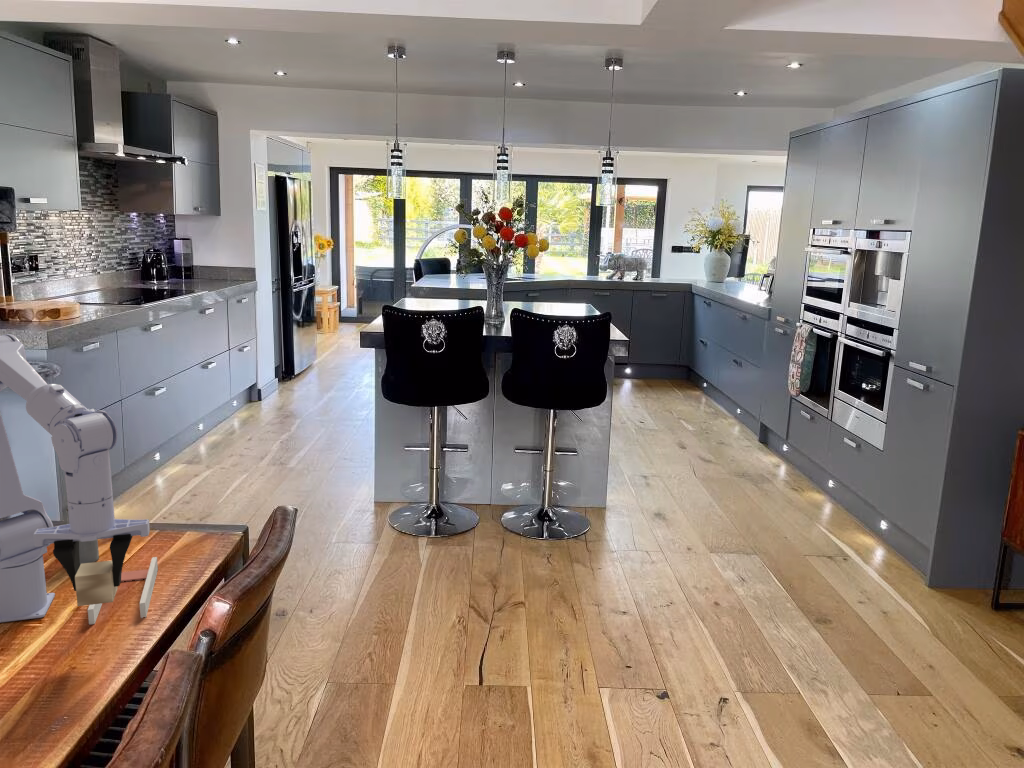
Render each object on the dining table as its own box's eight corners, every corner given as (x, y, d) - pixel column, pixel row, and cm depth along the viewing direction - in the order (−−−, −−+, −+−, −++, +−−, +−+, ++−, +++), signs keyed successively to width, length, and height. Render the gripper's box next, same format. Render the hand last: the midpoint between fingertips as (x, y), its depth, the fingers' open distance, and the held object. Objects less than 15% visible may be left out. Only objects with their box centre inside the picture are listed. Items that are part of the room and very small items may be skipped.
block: (77, 606, 109) (74, 576, 108) (83, 592, 113) (81, 563, 112) (112, 602, 110) (110, 573, 110) (117, 588, 115) (115, 560, 114)
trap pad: (111, 583, 133) (111, 581, 133) (114, 574, 137) (114, 572, 136) (149, 578, 135) (149, 577, 135) (151, 570, 138) (151, 568, 138)
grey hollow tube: (90, 565, 140) (85, 512, 138) (65, 565, 140) (60, 511, 138) (104, 555, 144) (99, 503, 142) (80, 554, 144) (75, 502, 142)
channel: (88, 624, 120) (87, 609, 119) (108, 575, 136) (106, 562, 136) (146, 617, 122) (145, 602, 122) (157, 569, 139) (157, 556, 138)
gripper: (24, 511, 103) (34, 604, 106) (142, 502, 108) (149, 591, 111) (37, 494, 110) (46, 582, 113) (148, 486, 115) (154, 570, 117)
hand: (98, 585), depth 112 cm, fingers closed on block, 4 cm apart
